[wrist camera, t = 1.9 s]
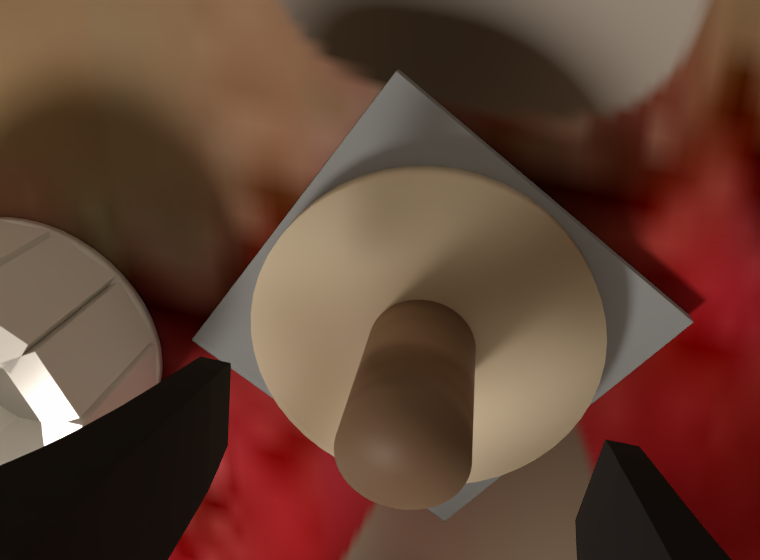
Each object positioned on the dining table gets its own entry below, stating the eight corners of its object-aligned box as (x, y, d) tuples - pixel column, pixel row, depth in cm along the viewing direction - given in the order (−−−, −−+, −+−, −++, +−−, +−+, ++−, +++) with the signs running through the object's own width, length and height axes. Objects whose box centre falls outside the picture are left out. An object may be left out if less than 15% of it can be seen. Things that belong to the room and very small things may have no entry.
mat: (688, 314, 15) (693, 322, 15) (445, 511, 19) (444, 521, 19) (398, 68, 14) (396, 70, 14) (197, 332, 18) (191, 340, 17)
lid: (680, 322, 15) (756, 458, 11) (443, 513, 19) (430, 672, 14) (398, 84, 14) (357, 132, 10) (201, 338, 17) (108, 456, 13)
